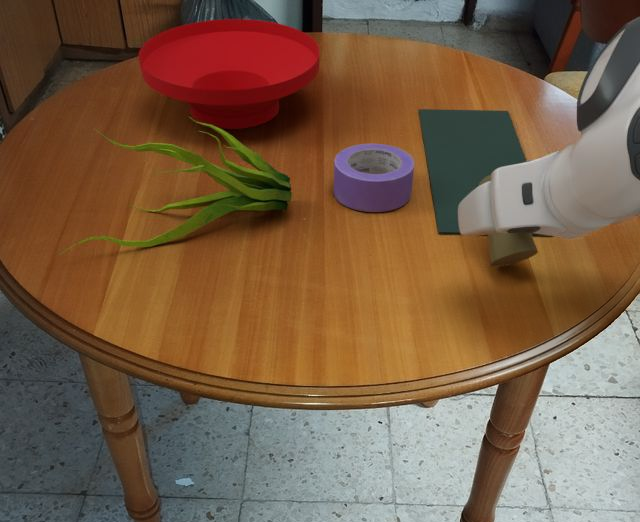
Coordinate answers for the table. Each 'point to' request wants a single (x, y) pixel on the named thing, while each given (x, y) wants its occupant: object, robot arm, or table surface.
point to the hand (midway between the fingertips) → (522, 225)
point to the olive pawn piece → (509, 245)
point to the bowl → (230, 68)
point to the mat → (465, 156)
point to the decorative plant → (244, 185)
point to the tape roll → (373, 177)
